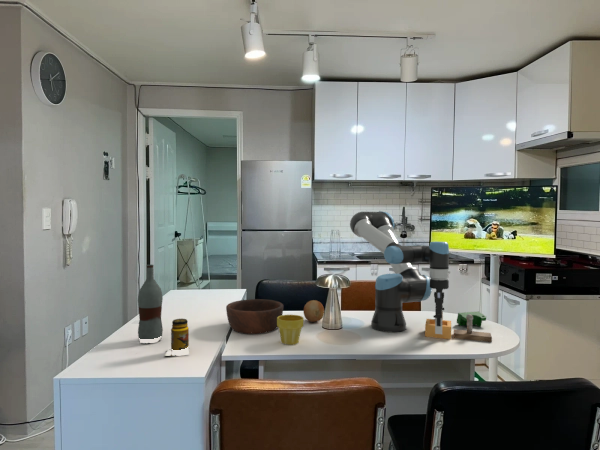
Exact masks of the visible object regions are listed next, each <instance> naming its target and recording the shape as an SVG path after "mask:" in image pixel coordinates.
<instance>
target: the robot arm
mask: <svg viewBox="0 0 600 450" xmlns="http://www.w3.org/2000/svg"><path fill="white" fill-rule="evenodd" d="M394 222H395V219H394V218H393V215H392V214H390V213H389V212H386V211H381V210H380V211H359V212H356V213H355V214H354V215H352V217H351V219H350V222H349V228H350V231H351V232H352V233H353V234H354V235H355V236H357V237H359V238H363V239H364V240H365V241H367V242H368V243H369V244H370V245H372V246H373V247H374V248H376V249H377V250H378V251H380V252H381V253H382V254H383V258H384V259H385V262H386V263H388V264H390V267H391V268H392V270H393V272H394V273H384V274H381V275H378V276H377V277H376V279H375V285H374V288H375V301H374V302H375V303H374V305H375V309H374V312H373V315H372V319H371V321H370V322H371V325H370V327H371V328H372V329H373V330H376V331H380V332H385V333H386V332H387V333H397V332H403V331H405V330H407V322H406V320H405V316H404V313H403V303H404V304H405V303H413V302H415V303H417V302H419V303H420V302H423V301H426V300H428V299H429V298H430V297H431V294H432V291H433V289H435V291H434V292H433V297H434V303H435V309H434V310H435V312H434V313H435V314H434V315H433V316H432V317H433V319H435V334H442V320H444V314H443V313H444V311H445V307H443V304H444V298H445V292H444V290H448V289H449V288H450V287H449V285H450V281H449V278H450V277H449V274H451V271H450V268H449V267H450V266H449V265H450V264H449V263H450V259H449V258H450V257H449V256H450V249H449V243H448V242H447V241H430V243H429V245H423V244H415V245H402V244H400V242H399V241H398V239H397V238H396V235H394V231H395V223H394ZM415 263H419V264H420V263H423V264H424V263H426V264H429V276H428V275H425V274H421V272H420V270H419V269H418V268H417V267H413V265H412V264H415Z"/></svg>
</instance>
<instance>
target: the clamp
mask: <svg viewBox="0 0 600 450" xmlns="http://www.w3.org/2000/svg"><path fill="white" fill-rule="evenodd" d="M468 314H471V315H472V316H473V320H472V326H477V327H479V328H481V327H482V324H483V321H485V322H486V321H487V315H484V314H483V313H482V312H480V311H467V312H466V311H465V312H458V313H457V317H456V324H458V326H460V327H461V326H462V327H465V326H466V327H467V318H466V316H467V315H468Z"/></svg>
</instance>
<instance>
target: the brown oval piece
mask: <svg viewBox="0 0 600 450" xmlns="http://www.w3.org/2000/svg"><path fill="white" fill-rule="evenodd" d="M303 315H304V316H303V317H304V318H305V320H307V321H308V322H311V323H315V322H319V321H321V320H322V319H323V318H324V315H325V308H324V306H323V303H322V302H320V301H318V300H316V299H315V300H314V299H313V300H308V301H307V302H306V304H304V307H303Z"/></svg>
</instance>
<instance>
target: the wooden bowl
mask: <svg viewBox="0 0 600 450" xmlns="http://www.w3.org/2000/svg"><path fill="white" fill-rule="evenodd" d="M225 309H226V310H225V311H226V316H227V320H228V324H229V326H230V328H231V329H232V330H233V331H234V332H236V333H239V334H247V335H258V334H261V335H262V334H267V333H270V332H273V331H275V330H277V329H279V327H277V317H278V316H281V315H284V314H283V313H284V303H282V302H280V301H278V300H273V299H260V298H253V299H250V298H249V299H241V300H236V301H231V302H230V303H228V304H227V305H226V307H225Z"/></svg>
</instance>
